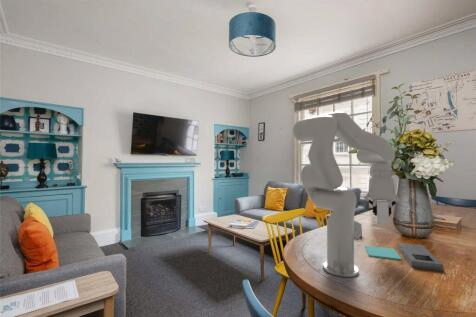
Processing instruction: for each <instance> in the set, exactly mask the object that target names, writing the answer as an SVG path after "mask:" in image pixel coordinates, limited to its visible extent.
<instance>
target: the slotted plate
mask: <svg viewBox="0 0 476 317" xmlns="http://www.w3.org/2000/svg"><path fill="white" fill-rule="evenodd" d="M396 249H397V250H398V251H399V253H400V254H401V255H402V256H403V258H404V259H405V260H406V262H407V263H408V264H409V266H410V268H416V269H422V270H424V269H425V270H431V271H439V272H444V264H443V262H441V261H440V259H438V258H437V257H436V256H435V255H434V254H433V253H432V252H431V251H429V249H427V248H426V247H425V246H424V245H423V244H417V243H416V244H414V243H406V242H396Z"/></svg>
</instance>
